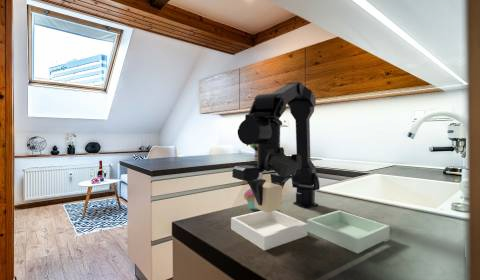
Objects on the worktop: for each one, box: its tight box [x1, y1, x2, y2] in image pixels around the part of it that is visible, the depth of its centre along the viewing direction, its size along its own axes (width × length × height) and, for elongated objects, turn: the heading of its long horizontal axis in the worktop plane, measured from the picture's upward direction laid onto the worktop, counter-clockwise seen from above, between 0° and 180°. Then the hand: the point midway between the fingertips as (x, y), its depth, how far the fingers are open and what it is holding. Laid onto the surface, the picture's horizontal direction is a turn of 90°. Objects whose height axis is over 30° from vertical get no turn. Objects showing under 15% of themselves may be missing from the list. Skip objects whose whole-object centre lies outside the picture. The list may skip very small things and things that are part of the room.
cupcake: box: [243, 188, 261, 211], centre depth 83 cm, size 9×8×12 cm
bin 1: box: [230, 210, 309, 251], centre depth 63 cm, size 14×14×4 cm
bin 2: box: [306, 210, 391, 254], centre depth 62 cm, size 14×14×4 cm
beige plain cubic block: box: [255, 181, 283, 213], centre depth 63 cm, size 5×5×6 cm
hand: (268, 203), depth 63 cm, fingers closed on beige plain cubic block, 5 cm apart
